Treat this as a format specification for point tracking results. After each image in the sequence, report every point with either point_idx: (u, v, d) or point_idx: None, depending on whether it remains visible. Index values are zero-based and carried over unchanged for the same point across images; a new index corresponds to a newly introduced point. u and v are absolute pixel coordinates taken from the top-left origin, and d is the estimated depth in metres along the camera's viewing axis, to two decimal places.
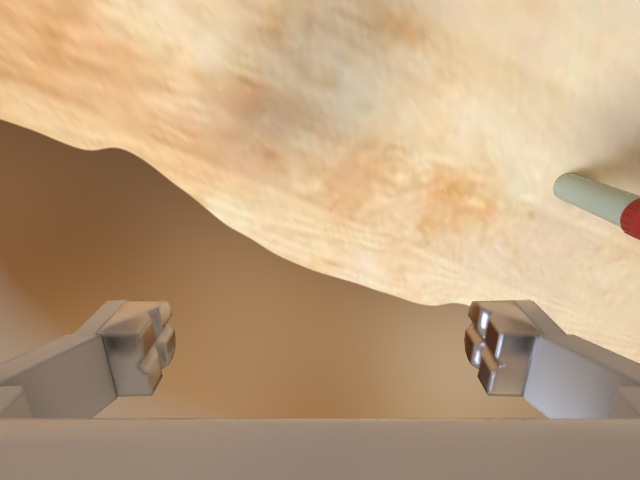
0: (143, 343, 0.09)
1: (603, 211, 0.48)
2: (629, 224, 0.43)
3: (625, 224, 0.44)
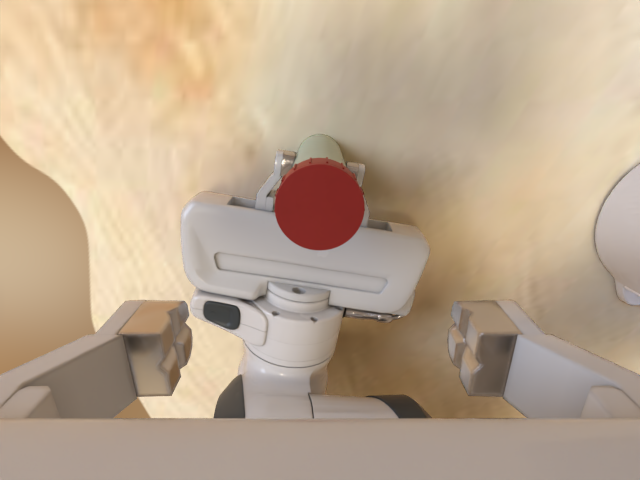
0: (164, 343, 0.09)
1: None
2: (282, 181, 0.20)
3: (282, 181, 0.20)
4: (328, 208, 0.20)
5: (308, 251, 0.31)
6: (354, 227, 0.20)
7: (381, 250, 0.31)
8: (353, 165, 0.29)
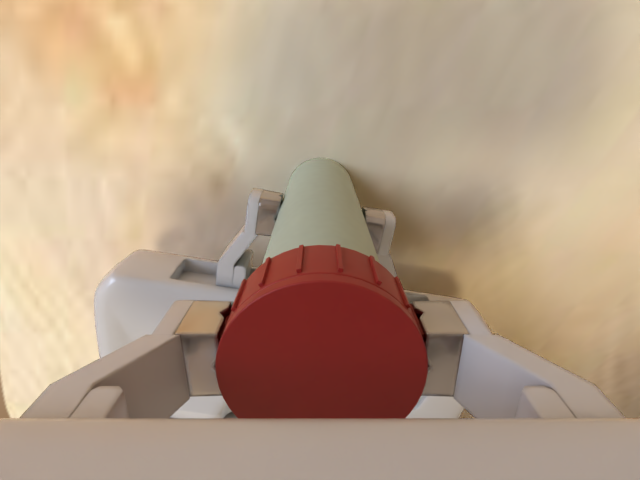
0: None
1: (271, 240, 0.13)
2: (234, 311, 0.08)
3: None
4: (342, 373, 0.08)
5: None
6: (401, 409, 0.09)
7: None
8: (376, 216, 0.18)
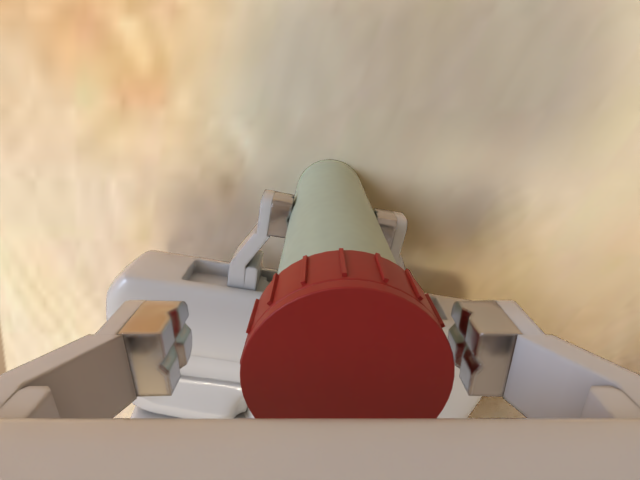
0: (164, 343, 0.09)
1: (288, 242, 0.13)
2: None
3: None
4: (358, 367, 0.08)
5: None
6: (438, 347, 0.08)
7: None
8: (388, 218, 0.18)
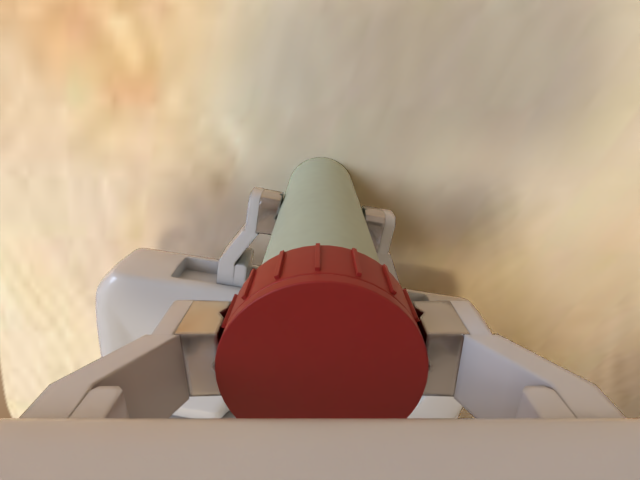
0: None
1: (272, 238, 0.13)
2: None
3: None
4: (332, 361, 0.08)
5: None
6: (411, 341, 0.08)
7: None
8: (376, 215, 0.18)
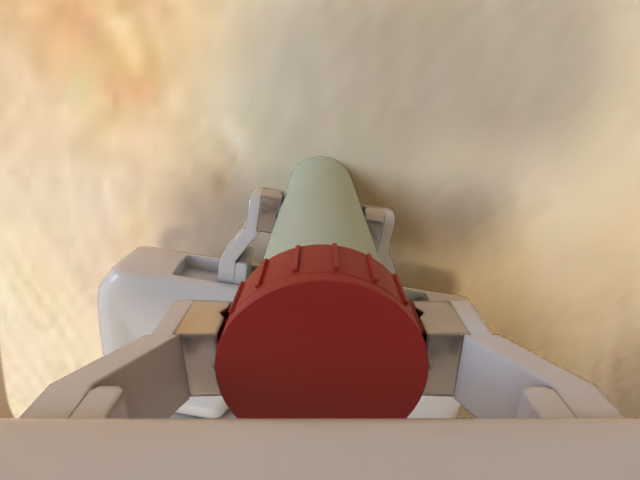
0: None
1: (273, 236, 0.13)
2: None
3: None
4: (313, 359, 0.08)
5: None
6: (341, 292, 0.08)
7: None
8: (376, 213, 0.18)
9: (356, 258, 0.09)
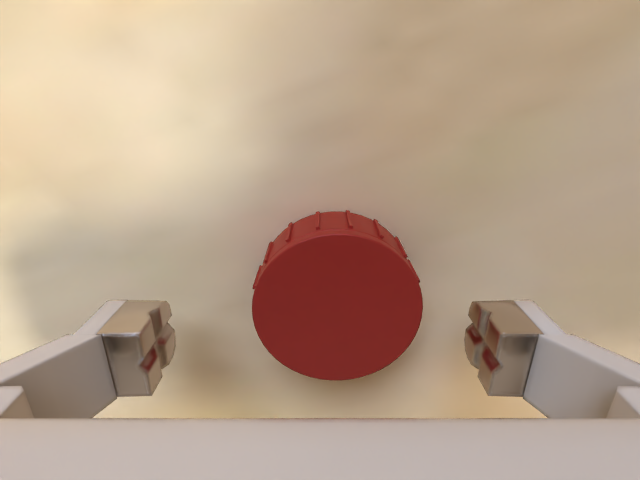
0: (143, 343, 0.09)
1: None
2: None
3: None
4: (330, 300, 0.10)
5: None
6: (354, 243, 0.10)
7: None
8: None
9: (365, 222, 0.11)
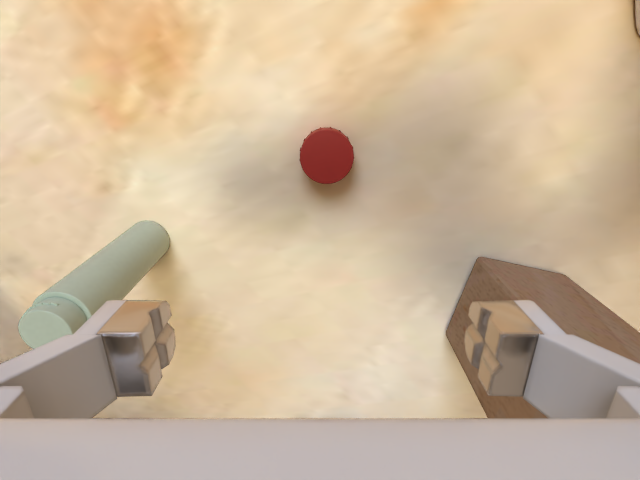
0: (144, 343, 0.09)
1: (80, 270, 0.28)
2: None
3: None
4: (324, 152, 0.34)
5: None
6: (331, 133, 0.33)
7: None
8: None
9: (335, 129, 0.34)
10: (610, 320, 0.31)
